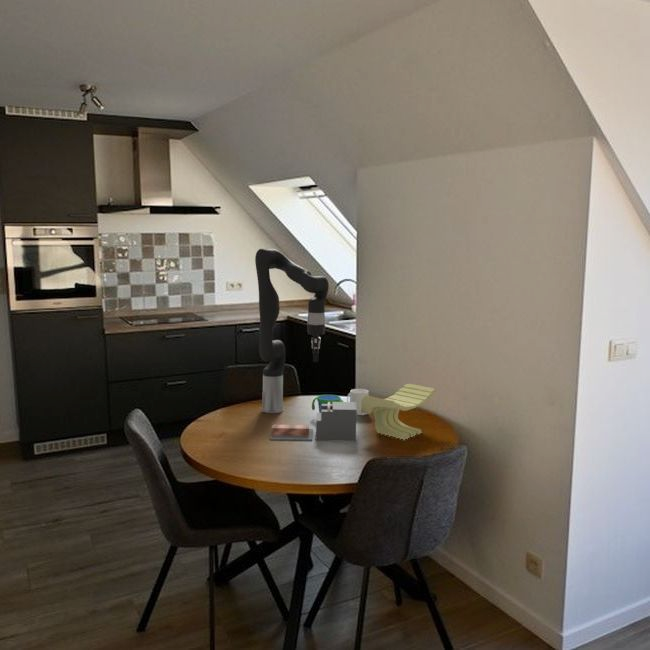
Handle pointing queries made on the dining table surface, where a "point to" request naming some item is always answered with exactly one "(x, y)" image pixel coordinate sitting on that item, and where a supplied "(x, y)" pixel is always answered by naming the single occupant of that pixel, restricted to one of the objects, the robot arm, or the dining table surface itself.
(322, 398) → the snack cup
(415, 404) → the slatted curved stool
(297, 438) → the mat
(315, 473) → the dining table surface
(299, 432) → the copper bar
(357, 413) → the mug
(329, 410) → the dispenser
